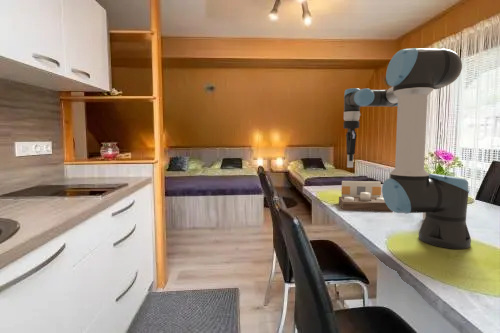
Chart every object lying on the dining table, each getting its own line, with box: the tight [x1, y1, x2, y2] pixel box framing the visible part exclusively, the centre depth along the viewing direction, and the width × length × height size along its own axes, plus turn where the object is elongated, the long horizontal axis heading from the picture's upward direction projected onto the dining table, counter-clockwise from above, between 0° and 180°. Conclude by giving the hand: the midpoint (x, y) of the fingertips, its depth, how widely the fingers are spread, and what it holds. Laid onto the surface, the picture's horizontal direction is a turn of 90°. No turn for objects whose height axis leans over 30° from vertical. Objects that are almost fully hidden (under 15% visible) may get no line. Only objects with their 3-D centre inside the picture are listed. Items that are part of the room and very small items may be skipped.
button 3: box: [344, 197, 354, 201], centre depth 149 cm, size 5×5×4 cm
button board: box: [338, 196, 392, 212], centre depth 148 cm, size 12×24×4 cm, turn 82°
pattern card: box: [340, 180, 382, 198], centre depth 157 cm, size 1×20×12 cm, turn 82°
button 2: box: [360, 192, 370, 201], centre depth 148 cm, size 5×5×4 cm
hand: (350, 167), depth 147 cm, fingers closed
